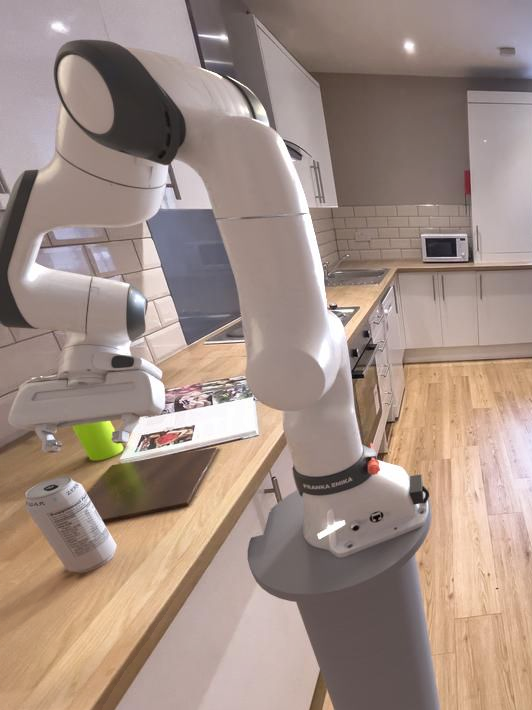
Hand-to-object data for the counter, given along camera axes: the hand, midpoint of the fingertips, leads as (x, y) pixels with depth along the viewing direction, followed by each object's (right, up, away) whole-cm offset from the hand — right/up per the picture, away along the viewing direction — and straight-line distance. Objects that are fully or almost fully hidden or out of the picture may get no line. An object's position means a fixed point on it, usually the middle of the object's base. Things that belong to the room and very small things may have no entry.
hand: (86, 447), depth 68 cm
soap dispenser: (-23, -6, +27) cm, 36 cm away
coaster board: (-4, -10, +16) cm, 19 cm away
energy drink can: (+3, -18, -1) cm, 19 cm away
